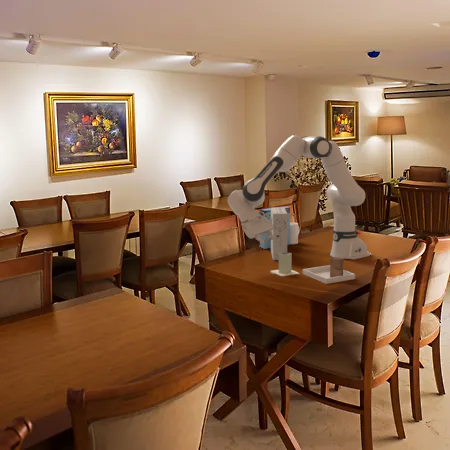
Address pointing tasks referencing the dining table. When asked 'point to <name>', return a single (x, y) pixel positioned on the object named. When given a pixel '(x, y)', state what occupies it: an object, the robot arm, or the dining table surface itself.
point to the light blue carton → (268, 215)
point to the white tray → (327, 274)
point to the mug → (294, 232)
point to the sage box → (285, 262)
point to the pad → (284, 273)
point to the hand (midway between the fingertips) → (268, 240)
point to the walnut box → (336, 266)
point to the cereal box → (279, 231)
